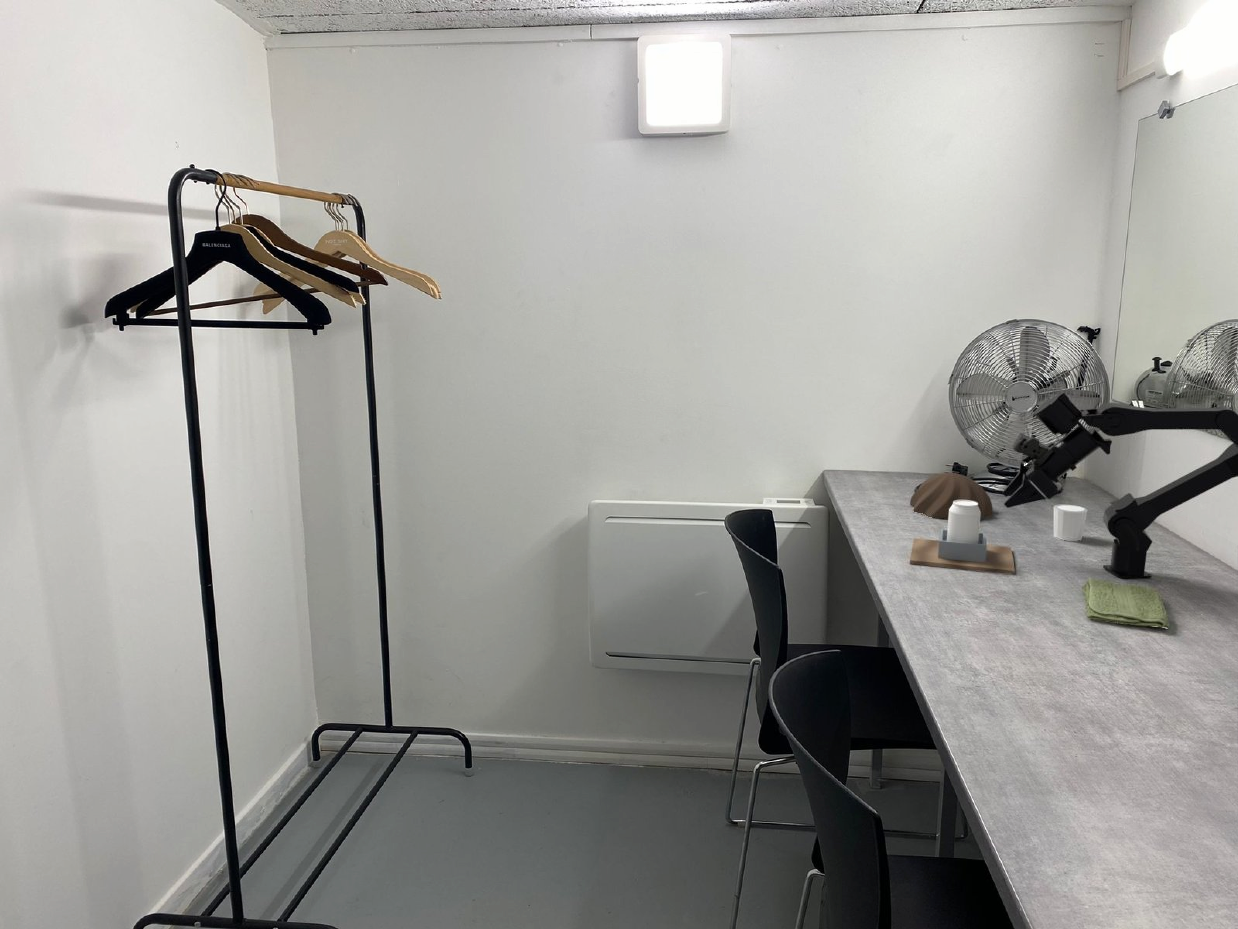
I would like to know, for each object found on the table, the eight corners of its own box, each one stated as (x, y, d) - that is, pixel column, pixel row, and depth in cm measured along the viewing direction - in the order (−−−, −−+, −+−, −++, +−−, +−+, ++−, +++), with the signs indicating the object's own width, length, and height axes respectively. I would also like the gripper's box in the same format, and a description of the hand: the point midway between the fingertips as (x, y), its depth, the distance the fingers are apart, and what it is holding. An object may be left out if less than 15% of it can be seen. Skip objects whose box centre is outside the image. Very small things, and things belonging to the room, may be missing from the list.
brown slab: (1010, 550, 193) (1011, 547, 192) (1014, 574, 178) (1014, 570, 178) (913, 541, 200) (914, 538, 199) (909, 563, 185) (909, 560, 185)
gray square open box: (984, 553, 191) (985, 532, 190) (985, 566, 183) (986, 545, 182) (938, 548, 195) (940, 528, 194) (937, 561, 186) (939, 540, 185)
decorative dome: (912, 519, 218) (914, 479, 216) (908, 499, 236) (910, 462, 234) (996, 524, 213) (1000, 483, 211) (986, 503, 232) (989, 466, 229)
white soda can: (969, 552, 192) (973, 498, 189) (981, 561, 186) (986, 506, 183) (941, 553, 192) (945, 499, 189) (952, 562, 186) (956, 506, 183)
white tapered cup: (1077, 533, 204) (1080, 504, 203) (1089, 542, 198) (1093, 512, 196) (1046, 532, 205) (1049, 503, 204) (1057, 542, 198) (1060, 511, 197)
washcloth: (1084, 623, 155) (1086, 606, 154) (1080, 590, 170) (1082, 574, 169) (1172, 636, 149) (1174, 618, 148) (1160, 600, 165) (1162, 584, 164)
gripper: (1037, 414, 186) (976, 462, 193) (1044, 429, 169) (977, 481, 176) (1075, 453, 185) (1013, 500, 191) (1086, 472, 168) (1017, 523, 174)
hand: (1004, 500), depth 183 cm, fingers open, 9 cm apart
